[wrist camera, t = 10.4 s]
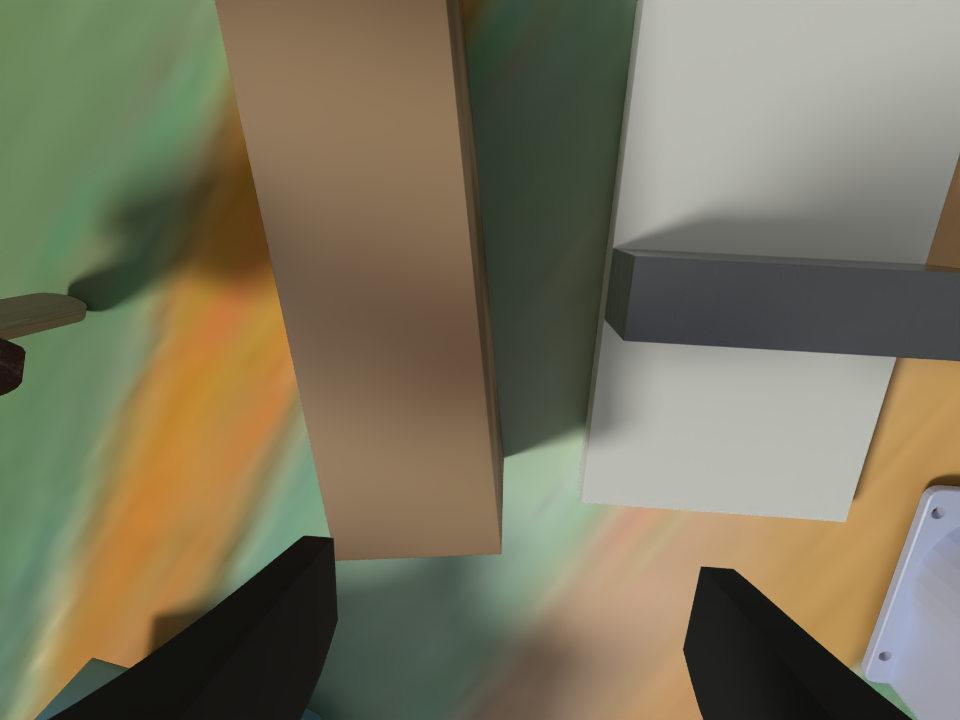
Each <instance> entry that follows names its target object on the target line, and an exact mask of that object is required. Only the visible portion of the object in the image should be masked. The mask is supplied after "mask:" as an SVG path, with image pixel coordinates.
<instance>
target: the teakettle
mask: <svg viewBox="0 0 960 720" xmlns="http://www.w3.org/2000/svg"><path fill="white" fill-rule="evenodd" d="M128 669H129V668H126V667H122V666H119V665H116V664H112V663H109V662H106V661H102V660H99V659H96V658H92V659H91V660H90V661H89V662H88V663H87V664H86V665H85V666H84V667H83V668H82V669H81V670H80V671H79V672H78V673H77V674H76V676H75V677H74V678H73V679H72V680H71V681H70V682H69V683H68V684H67V685H66V686H65V687H64V688H63V689H62V691H61V692H60V693H59V694H58V695H57V696H56V697H55V698H54V699H53V700H52V701H51V702H50V703H49V704H48V706H47V707H46V708H45V709H44V710H43V711H42V712H41V713H40V714H39V715H38V716H37V717H36V718H35V719H34V720H47V719H49V718H51V717H53V716H54V715H56V714H58V713H60V712H61V711H63V710H65V709H66V708H68V707H70V706H71V705H73V704H75V703H76V702H78V701H80V700H81V699H83V698H84V697H86V696H88V695H89V694H91V693H92V692H94V691H95V690H97V689H99V688H100V687H102V686H103V685H105V684H106V683H108V682H110V681H111V680H113V679H114V678H116V677H117V676H119V675H121V674H122V673H124V672H125V671H127V670H128ZM301 720H323V719H322V718H321V717H320V716H319V715H317V714H316V713H314V712H313V711H311V710H308V709H305V711H304V713H303V716H302V718H301Z"/></svg>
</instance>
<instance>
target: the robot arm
mask: <svg viewBox="0 0 960 720" xmlns="http://www.w3.org/2000/svg"><path fill="white" fill-rule="evenodd" d="M935 508H937V509H936V510H935V511H934V512H932V511H933V510H934V509H935ZM931 512H932V513H931ZM337 621H338V615H337V594H336V574H335V553H334V538H329V537H316V536H303V537H301V538H300V539H299V540H298V541H296V542H295V543H294V544H293V545H291V546H290V547H289V548H288V549H287V550H285V551H284V552H283V553H282V554H280V555H279V556H278V557H277V558H275V559H274V560H273V561H272V562H271V563H269V564H268V565H267V566H266V567H264V568H263V569H262V570H261V571H260V572H258V573H257V574H256V575H255V576H253V577H252V578H251V579H250V580H249V581H247V582H246V583H245V584H244V585H242V586H241V587H240V588H239V589H237V590H236V591H235V592H233V593H232V594H231V595H230V596H228V597H227V598H226V599H225V600H223V601H222V602H221V603H220V604H218V605H217V606H216V607H214V608H213V609H212V610H211V611H209V612H208V613H207V614H205V615H204V616H202V617H201V618H200V619H198V620H197V621H196V622H194V623H193V624H192V625H190V626H189V627H187V628H186V629H185V630H183V631H182V632H181V633H179V634H178V635H177V636H175V637H174V638H172V639H171V640H170V641H168V642H167V643H166V644H164V645H163V646H162V647H160V648H159V649H157V650H156V651H155V652H153V653H152V654H150V655H149V656H147V657H146V658H144V659H143V660H142V661H140V662H139V663H137V664H136V665H134V666H133V667H131V668H130V669H128V670H127V671H125V672H124V673H122V674H121V675H119V676H117V677H116V678H114V679H113V680H111V681H110V682H108V683H106V684H105V685H103V686H102V687H100V688H99V689H97V690H95V691H94V692H92V693H91V694H89V695H88V696H86V697H84V698H83V699H81V700H80V701H78V702H76V703H75V704H73V705H71V706H70V707H68V708H66V709H65V710H63V711H61V712H60V713H58V714H56V715H54V716H53V717H51V718H49V719H47V720H301V718H302V716H303V713H304V711H305V709H306V707H307V704H308V702H309V700H310V697H311V695H312V693H313V691H314V688H315V686H316V684H317V681H318V679H319V677H320V674H321V671H322V668H323V665H324V662H325V659H326V656H327V653H328V650H329V647H330V644H331V641H332V637H333V634H334V631H335V628H336V624H337ZM683 651H684V655H685V659H686V663H687V667H688V670H689V674H690V678H691V682H692V685H693V689H694V692H695V696H696V699H697V703H698V706H699V709H700V712H701V715H702V717H703V720H912V719H911V718H910V717H908V716H907V715H906V714H905V713H903V712H902V711H901V710H900V709H898V708H897V707H896V706H895V705H893V704H892V703H891V702H889V701H888V700H887V699H886V698H884V697H883V696H882V695H881V694H879V693H878V692H877V691H876V690H874V689H873V688H872V687H871V686H869V685H868V684H867V683H866V682H865V681H863V680H862V679H861V678H860V677H859V676H857V675H856V674H855V673H854V672H853V671H851V670H850V669H849V668H848V667H847V666H845V665H844V664H843V663H842V662H841V661H839V660H838V659H837V658H836V657H835V656H834V655H832V654H831V653H830V652H829V651H828V650H827V649H825V648H824V647H823V646H822V645H821V644H820V643H818V642H817V641H816V640H815V639H814V638H813V637H811V636H810V635H809V634H808V633H807V632H806V631H805V630H803V629H802V628H801V627H800V626H799V625H798V624H797V623H795V622H794V621H793V620H792V619H791V618H790V617H789V616H787V615H786V614H785V613H784V612H783V611H782V610H781V609H779V608H778V607H777V606H776V605H775V604H774V603H773V602H772V601H770V600H769V599H768V598H767V597H766V596H765V595H764V594H762V593H761V592H760V591H759V590H758V589H757V588H756V587H754V586H753V585H752V584H751V583H750V582H749V581H747V580H746V579H745V578H744V577H743V576H741V575H740V574H739V573H738V572H736V571H735V570H734V569H726V568H714V567H701V569H700V574H699V578H698V583H697V588H696V592H695V597H694V601H693V606H692V611H691V615H690V620H689V625H688V629H687V634H686V638H685V643H684V648H683ZM861 671H862V673H863V674H864V676H865V677H866V678H867V679H868V680H869V681H872V682H878V683H890V685H891V686H892V688H893V689H894V690H895V691H896V693H897V694H898V695H899V696H900V698H901V699H902V700H903V701H904V702H905V704H906V705H907V706H908V707H909V709H910V710H911V711H912V712H913V714H914V715H915V716H916V717H917V719H918V720H960V487H959V486H945V485H935V486H932V487H929V488H928V489H926V490H925V491H924V493H923V494H922V496H921V499H920V502H919V505H918V508H917V510H916V513H915V516H914V519H913V522H912V524H911V527H910V530H909V533H908V536H907V538H906V541H905V544H904V547H903V550H902V552H901V555H900V558H899V561H898V564H897V566H896V569H895V572H894V575H893V578H892V580H891V583H890V586H889V589H888V592H887V594H886V597H885V600H884V603H883V606H882V608H881V611H880V614H879V617H878V620H877V622H876V625H875V628H874V631H873V634H872V636H871V639H870V642H869V645H868V648H867V650H866V653H865V656H864V659H863V662H862V664H861Z"/></svg>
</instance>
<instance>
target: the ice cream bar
mask: <svg viewBox="0 0 960 720" xmlns="http://www.w3.org/2000/svg"><path fill="white" fill-rule="evenodd" d="M86 309H87V306H86V304H85V303H84V302H83V301H81V300H79V299H77V298H74V297H71V296H67V295H62V294H55V293H35V294H29V295H24V296H18V297H12V298H6V299H0V396H1V395H4V394H7V393H9V392H11V391H12V390H14V389H16V388H17V387H18V386H19V385H20V384H21V382H22V377H23V369H24V361H25V353H26V352H25V351H24V349H23V348H22V347H20V346H18V345H16V344H14V343H11V342H9V341H7V340H9V339H13V338H17V337H21V336H25V335H29V334H33V333H37V332H41V331H45V330H49V329H53V328H57V327H60V326H64V325H68V324H72V323H76V322H79V321H82V320H84V318H85V316H86Z"/></svg>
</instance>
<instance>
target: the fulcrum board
mask: <svg viewBox="0 0 960 720" xmlns="http://www.w3.org/2000/svg"><path fill="white" fill-rule="evenodd" d="M959 155H960V0H638V1H637V4H636V12H635V20H634V28H633V37H632V45H631V53H630V62H629V70H628V78H627V87H626V95H625V103H624V111H623V120H622V128H621V136H620V145H619V153H618V161H617V169H616V178H615V186H614V194H613V203H612V211H611V219H610V227H609V236H608V244H607V252H606V261H605V269H604V277H603V286H602V294H601V302H600V310H599V319H598V327H597V335H596V344H595V352H594V360H593V368H592V377H591V385H590V393H589V402H588V410H587V418H586V426H585V435H584V443H583V451H582V460H581V468H580V476H579V485H578V491H579V495H580V499H581V503H594V504H607V505H621V506H635V507H648V508H662V509H675V510H689V511H703V512H716V513H730V514H744V515H757V516H771V517H784V518H798V519H812V520H825V521H839V522H846V519H847V515H848V512H849V509H850V506H851V503H852V499H853V496H854V493H855V490H856V486H857V483H858V480H859V477H860V474H861V470H862V467H863V464H864V461H865V457H866V454H867V451H868V448H869V445H870V441H871V438H872V435H873V432H874V428H875V425H876V422H877V419H878V416H879V412H880V409H881V406H882V403H883V399H884V396H885V393H886V390H887V387H888V383H889V380H890V377H891V374H892V370H893V367H894V364H895V361H896V358H897V357H901V358H917V359H934V360H951V361H960V269H959V268H951V267H943V266H936V265H928V264H926V261H927V258H928V255H929V251H930V248H931V245H932V242H933V238H934V235H935V232H936V229H937V226H938V222H939V219H940V216H941V213H942V209H943V206H944V203H945V200H946V197H947V193H948V190H949V187H950V184H951V180H952V177H953V174H954V171H955V168H956V164H957V161H958V158H959Z"/></svg>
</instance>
